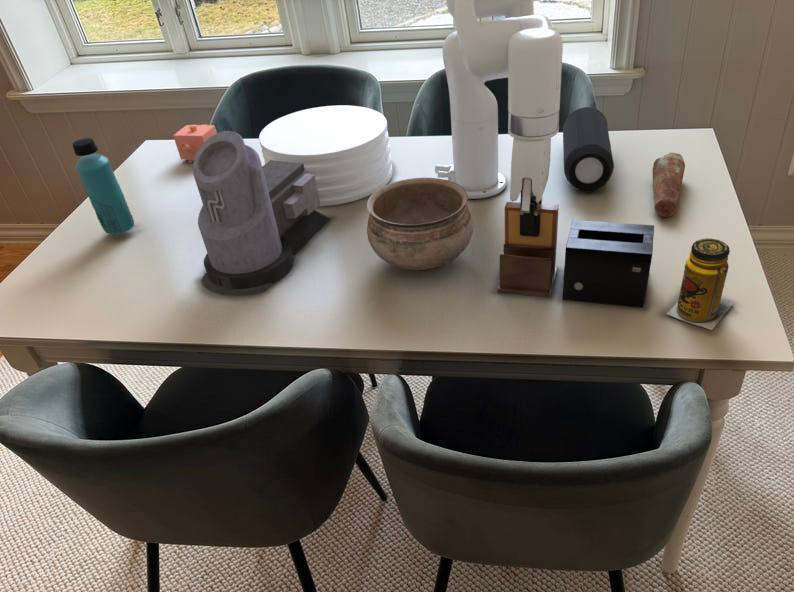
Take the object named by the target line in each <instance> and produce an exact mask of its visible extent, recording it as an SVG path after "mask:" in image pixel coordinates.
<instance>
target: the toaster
mask: <svg viewBox="0 0 794 592" xmlns="http://www.w3.org/2000/svg"><path fill="white" fill-rule="evenodd" d="M654 237H655V225H653V224H640V223H624V222H612V221H611V222H609V221H598V220H597V221H596V220H582V219H572V220H571V224H570V228H569V232H568V237H567V240H566V244H565V250H564V251H565V253H564V265H563V266H564V268H563V279H562V281H563V282H562V296H561V299H562V301H569V302H571V301H572V302H579V303H580V302H581V303H591V304H599V305H609V306H610V305H611V306H619V307H631V308H638V309H639V308H641V309H644V307H645V302H646V297H647V296H646V295H647V291H648V285H649V284H648V283H649V277H650V271H651V264H652V261H653V251H654Z"/></svg>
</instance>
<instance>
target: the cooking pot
mask: <svg viewBox="0 0 794 592" xmlns="http://www.w3.org/2000/svg"><path fill="white" fill-rule="evenodd" d="M448 180H449V179H445V178H438V177H437V178H436V177H413V178H406V179H401V180H397V181H394V182H391V183H387V184H386V185H385V186H384V187H382V188H380V189H378V190H377V191H375V192H374V193H373V194H371V195H369V198H368V200H367V203H366V206H367V208H366V209H367V210H368V213H369V214H368V218H367V225H366V235H367V236H366V237H367V240H368V243H369V245H370V247H371V249H372V250H373V252H374V253H375V254H376V255H377V257H379V258H380V259H381V260H383V261H384V262H385V263H387V264H389V265H391V266H394V267H395V268H400V269H404V270H411V271H428V270H432V269H435V268H440V267H442V266H444V265H446V264H449V263H450V262H452V261H453V260H455V259H456V258H458V257H459V256H460V255H461V254H462V253H464V251H465V250H466V249H467V247H468V245H469V244H470V242H471V240H472V236H473V232H474V219H473V217H472V214H471V211H470V209H469V206H468V204H467V203H468V200H469V198H468V195H467V192H466V191H465V190H464V188H462V187H461V186H460V185H458V184H456V183H454V182H451V181H448Z"/></svg>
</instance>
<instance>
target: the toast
mask: <svg viewBox="0 0 794 592" xmlns="http://www.w3.org/2000/svg"><path fill="white" fill-rule="evenodd" d="M531 204H534V203H531ZM559 207H560V205H559V204H550V203H547V204H546V203H542V204H539V212H538V213H540V234H539V236H538V237H532V236H521V235H520V208H521V202H517V201H506V202H505V206H504V244H515V245H528V246H540V247H552V248H554V259H553V269H554V268H555V267H556V264H557V247H558V246H557V245H558V227H559V210H560V209H559Z"/></svg>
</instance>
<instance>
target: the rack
mask: <svg viewBox="0 0 794 592" xmlns="http://www.w3.org/2000/svg"><path fill="white" fill-rule="evenodd" d="M498 256H499V259H498V260H499V283H498V285H497V289H496V292H497V293H501V294H512V295H520V296H521V295H522V296H531V297H539V298H540V297H541V298H551V296H552V292H553V289H554V284H555V280H556V277H557V273H558V266H555V268H554V269H553V259H554V248H552V247H540V246H528V245H515V244H505V243H503V254H502V253H501V254H500V253H499V255H498Z"/></svg>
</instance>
